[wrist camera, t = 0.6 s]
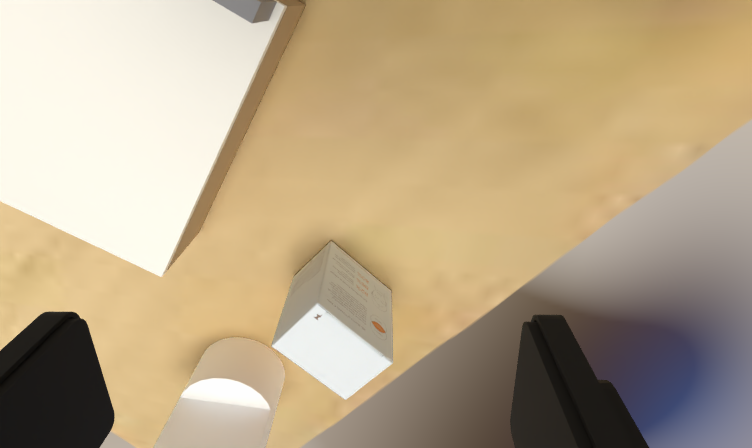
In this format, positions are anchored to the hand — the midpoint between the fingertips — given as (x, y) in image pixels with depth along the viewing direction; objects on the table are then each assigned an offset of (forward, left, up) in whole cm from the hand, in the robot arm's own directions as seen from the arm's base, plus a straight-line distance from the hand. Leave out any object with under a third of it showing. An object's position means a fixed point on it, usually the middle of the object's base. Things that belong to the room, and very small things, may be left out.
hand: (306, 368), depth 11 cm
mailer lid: (+8, -15, -25) cm, 30 cm away
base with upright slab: (+32, +2, -33) cm, 45 cm away
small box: (+17, +6, -33) cm, 37 cm away
